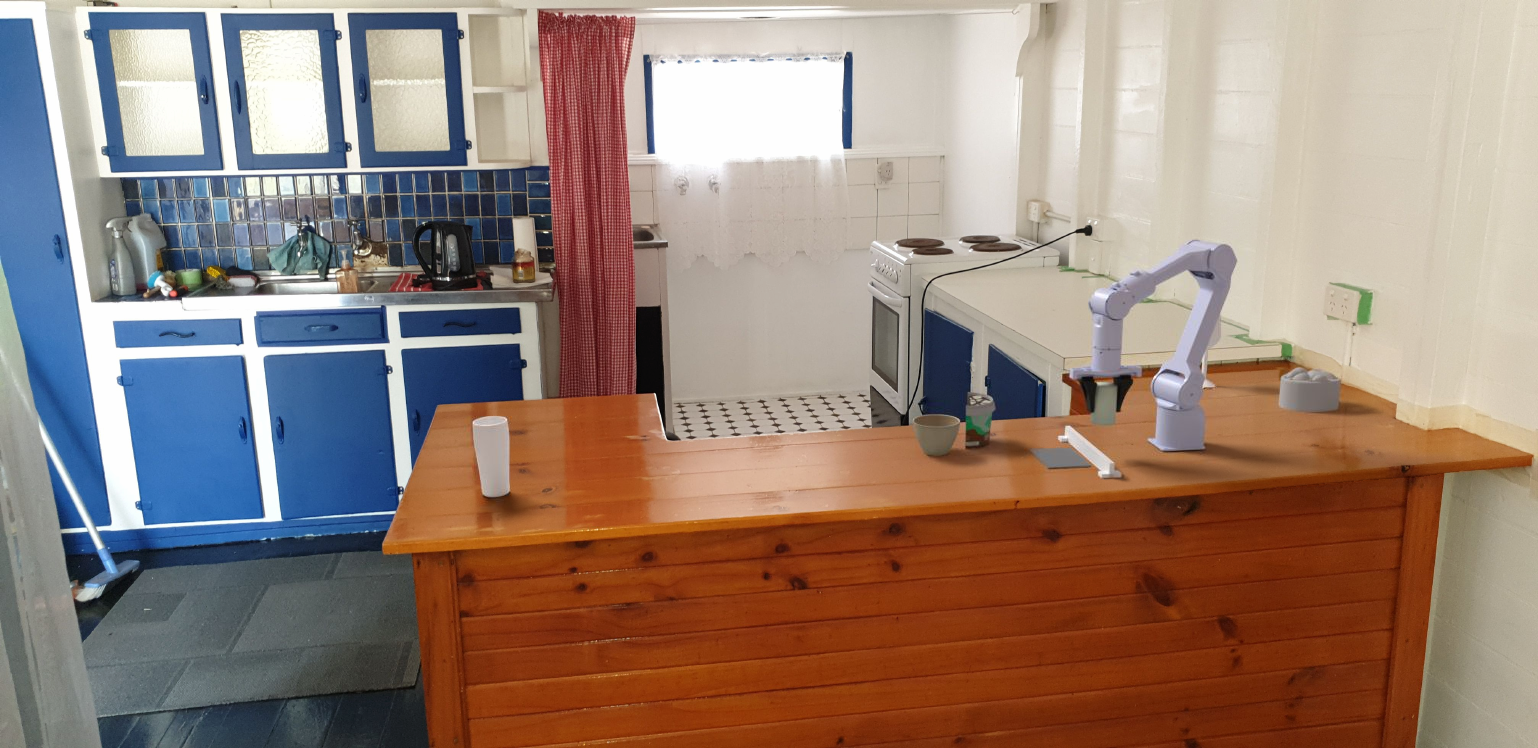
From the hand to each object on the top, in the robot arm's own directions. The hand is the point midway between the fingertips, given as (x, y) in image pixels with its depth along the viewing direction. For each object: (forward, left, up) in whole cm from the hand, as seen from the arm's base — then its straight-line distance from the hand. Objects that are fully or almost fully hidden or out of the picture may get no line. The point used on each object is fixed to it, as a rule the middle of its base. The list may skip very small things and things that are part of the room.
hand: (1103, 411), depth 232 cm
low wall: (+3, 0, -10) cm, 10 cm away
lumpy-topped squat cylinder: (-62, -30, -10) cm, 69 cm away
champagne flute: (-47, -52, -10) cm, 71 cm away
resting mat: (+9, 0, -10) cm, 13 cm away
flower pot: (+33, -8, -10) cm, 36 cm away
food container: (+22, -13, -10) cm, 28 cm away
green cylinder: (0, 0, -2) cm, 2 cm away
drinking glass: (+124, +5, -10) cm, 125 cm away
